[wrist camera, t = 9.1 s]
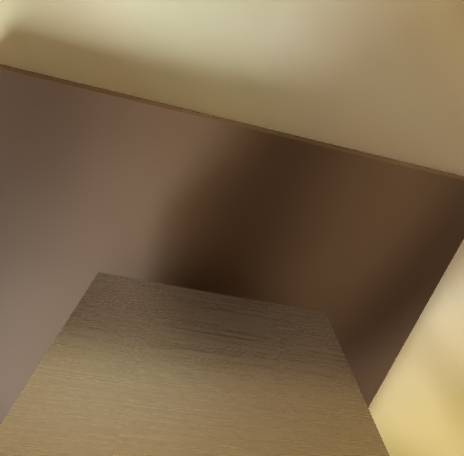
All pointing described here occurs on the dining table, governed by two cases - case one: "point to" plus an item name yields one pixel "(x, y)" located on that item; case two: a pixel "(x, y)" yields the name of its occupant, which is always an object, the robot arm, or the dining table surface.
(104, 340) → the grey block
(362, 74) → the dining table surface
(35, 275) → the post base
